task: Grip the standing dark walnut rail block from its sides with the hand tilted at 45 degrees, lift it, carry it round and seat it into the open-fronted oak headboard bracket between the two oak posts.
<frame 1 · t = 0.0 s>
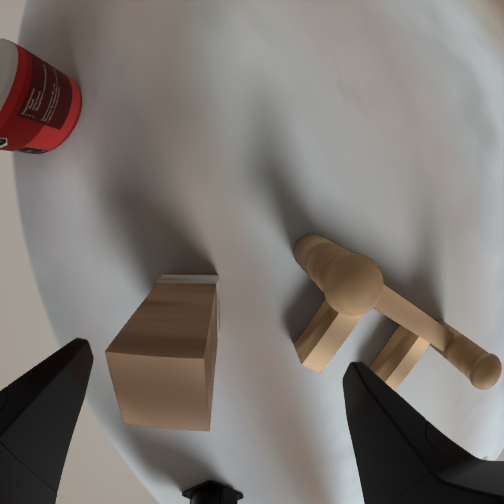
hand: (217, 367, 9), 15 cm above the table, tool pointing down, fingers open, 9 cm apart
canned food: (51, 115, 21), on the table
headboard bracket: (358, 337, 26), on the table
rail block: (192, 299, 25), on the table
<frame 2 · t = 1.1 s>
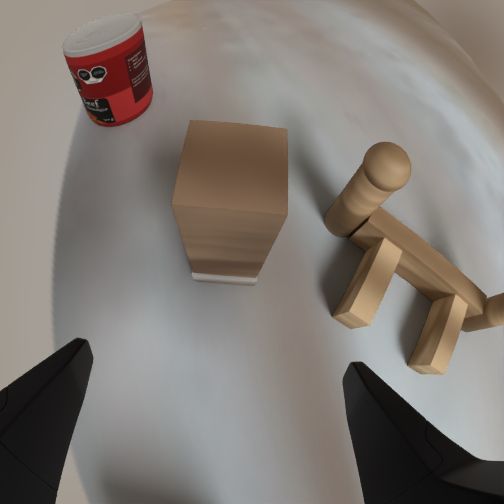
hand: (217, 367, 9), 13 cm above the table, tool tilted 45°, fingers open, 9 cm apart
canned food: (121, 106, 29), on the table
headboard bracket: (396, 314, 24), on the table
rail block: (226, 256, 24), on the table
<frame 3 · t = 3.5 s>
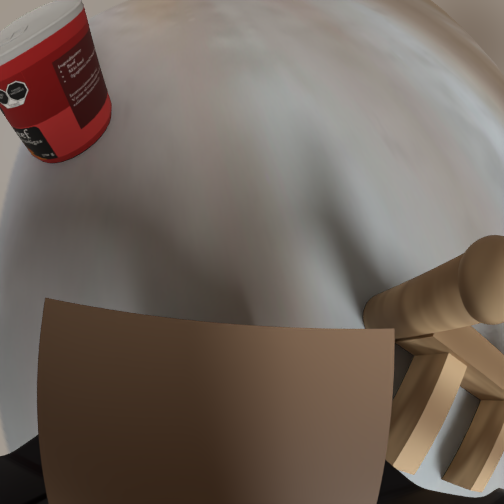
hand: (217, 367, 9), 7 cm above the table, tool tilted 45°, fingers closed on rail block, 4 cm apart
canned food: (71, 130, 19), on the table
headboard bracket: (440, 428, 14), on the table
rail block: (216, 385, 15), on the table, touching gripper
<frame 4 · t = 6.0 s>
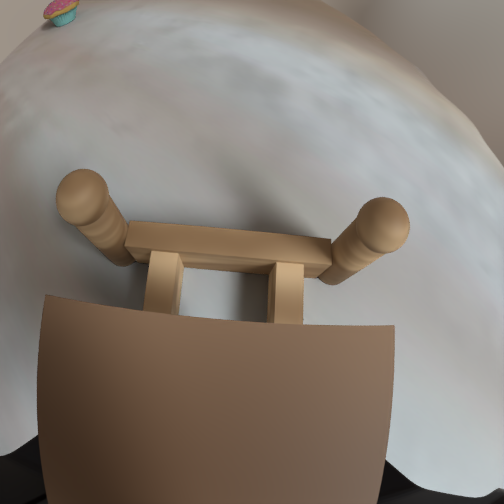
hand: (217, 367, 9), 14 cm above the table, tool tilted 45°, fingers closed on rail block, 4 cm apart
cupcake: (65, 22, 38), on the table
headboard bracket: (222, 313, 23), on the table
rail block: (216, 384, 15), point 7 cm above the table, touching gripper
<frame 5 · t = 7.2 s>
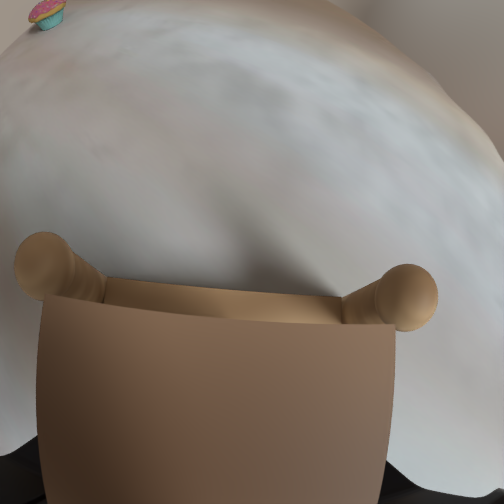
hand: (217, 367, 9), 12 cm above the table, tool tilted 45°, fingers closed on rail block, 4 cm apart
cupcake: (52, 25, 35), on the table
headboard bracket: (217, 374, 20), on the table
rail block: (216, 384, 15), point 5 cm above the table, touching gripper
when the fingers open (8 cm above the table, at t = 8.3 s): rail block drops 2 cm, on the table.
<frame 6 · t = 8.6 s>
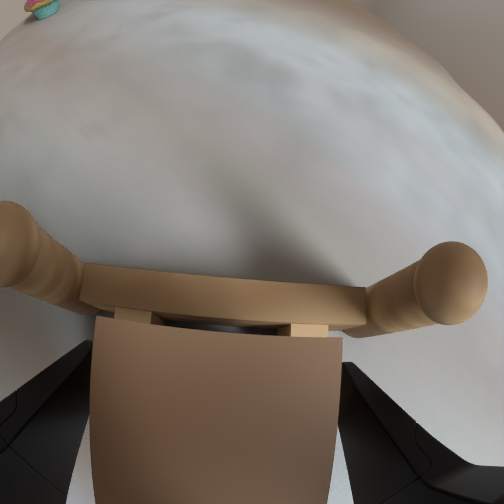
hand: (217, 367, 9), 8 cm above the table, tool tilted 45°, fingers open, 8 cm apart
cupcake: (48, 15, 31), on the table
headboard bracket: (217, 381, 16), on the table
rail block: (217, 381, 16), on the table
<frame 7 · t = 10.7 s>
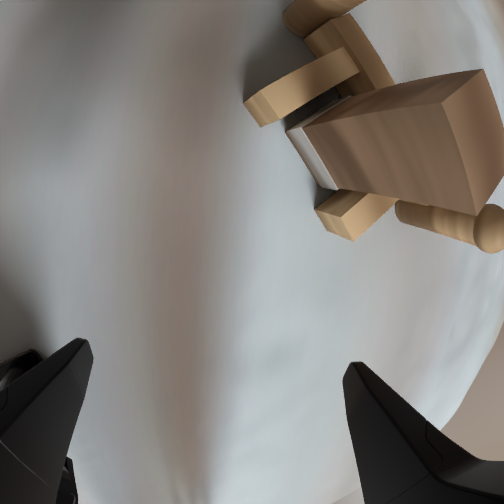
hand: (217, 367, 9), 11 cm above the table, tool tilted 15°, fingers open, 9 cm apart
headboard bracket: (324, 143, 20), on the table
rail block: (324, 142, 20), on the table
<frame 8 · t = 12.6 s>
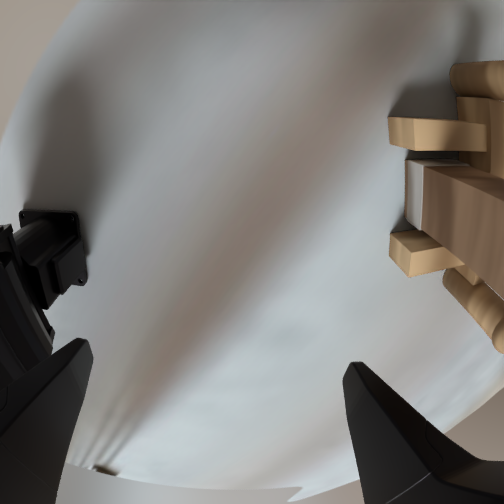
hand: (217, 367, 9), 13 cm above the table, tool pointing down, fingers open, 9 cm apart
headboard bracket: (427, 187, 20), on the table
rail block: (427, 187, 20), on the table
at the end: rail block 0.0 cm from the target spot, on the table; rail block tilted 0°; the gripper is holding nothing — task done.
